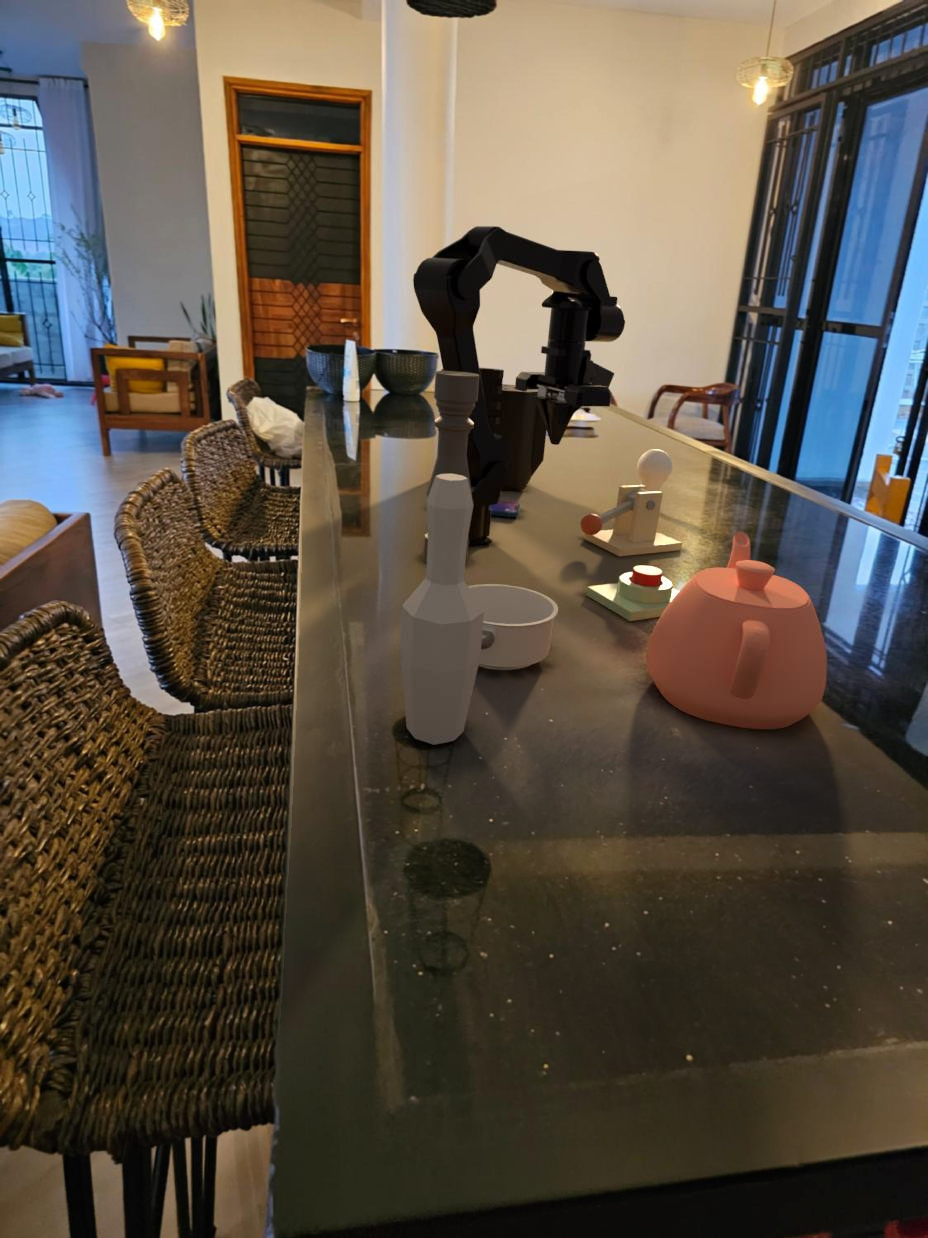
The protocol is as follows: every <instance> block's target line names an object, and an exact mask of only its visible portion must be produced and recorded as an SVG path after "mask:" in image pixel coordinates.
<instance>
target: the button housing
mask: <svg viewBox="0 0 928 1238" xmlns="http://www.w3.org/2000/svg"><path fill="white" fill-rule="evenodd" d="M632 572H633V571H629V572H624V573H622V574H620V575H619V576H618V582H615V583H606V584H597V585H591V586H590V585H589V586H587V588H586V593H585V594H586V596H587V597H588V598H590V599H592V600H594V601H595V602H597V603H598V604H600V605H602V606H603V607H605V608H607V609H609V610H610V611H612V612H614V613H615V614H617V615H619V616H621V617H622V618H623V619H625V620H627V621H628V622H635V621H641V620H647V619H654V618H660V617H661V615H662V613H663V612H664V610H665V609H666V607H667V606H668V605H669V603H670V602H671V601H672V600H673V598H674V597H675V596H676V595H677V594H678V592H679V591H680V590H678V589H676V588H674V584H673V582H672V581H671V580H670V579H668V578H666V577H665V576H662V578H661V583H660V586H657V587H648V586H641V585H637V584H635V583H633V582H631V578H632Z"/></svg>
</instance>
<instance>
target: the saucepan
mask: <svg viewBox="0 0 928 1238" xmlns="http://www.w3.org/2000/svg"><path fill="white" fill-rule="evenodd" d="M467 586H468V587H469V589H470V590H471V592H472V593H473V595H474V597H475V598H476V600H477V601H478V603H479V604H480V606H481V607H482V609H483V610H484V619H483V631H482V642H481V654H480V661H479V665H478V667H481V668H484V669H487V670H488V669H489V670H495V671H514V670H520V669H525V668H528V667H530V666H531V665H535V664H537V663H540V662H542V661H543V660H545V659H546V658H547V657H548V655H549V654H550V650H551V649H550V648H551V641H552V633H553V626H554V618H555V617H556V616H557V615H558V613H559V612H558V611H559V607H558V604H557V603H556V601H554V600H553V599H552V598H550V597H549V596H547V595H546V594H544V593H541V592H539V591H536V590H533V589H530V588H527V587H522V586H516V585H510V584H500V583H499V584H498V583H485V584H484V583H483V584H473V585H467Z"/></svg>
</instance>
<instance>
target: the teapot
mask: <svg viewBox="0 0 928 1238" xmlns="http://www.w3.org/2000/svg"><path fill="white" fill-rule="evenodd" d="M731 548H732V549H731V553H730V557H729V559H728V563H727V565H726V567H709V568H704V569H702V570H700V571H697V573H695V574H694V575H693V576H692V577H691V578H690V579H689V580H688V581H687V582H686V583H685V584H684V585H683V586H682V588H681V589H680V590H678V591H679V592H678V594H677V595H676V596H675V597H674V598H673V600H672V601H671V602H670V603H669V605H668V606H667V607H666V609H665V610H664V612H663V613H662V615H661V617H658V618H659V619H658V620H657V622H656V624H655V625H654V628H653V630H652V632H651V636H650V638H649V640H648V644H647V649H646V654H645V663H646V668H647V672H648V673H649V676H650V677H651V679H652V681H653V683H654V685H655V686H656V688H657V689H658V691H659V692H660V694H661V695H662V697H663V698H664V699H665V700H666V701H667V702H668V703H669V704H671V705H672V706H673V707H674V708H676V709H678V710H680V711H681V712H683V713H685V714H688V715H690V716H692V717H696V718H698V719H701V720H704V721H707V722H712V723H716V724H720V725H726V726H731V727H736V728H737V727H738V728H743V729H751V730H753V729H754V730H776V729H784V728H788V727H789V726H791V725H795V723H797V722H799V721H801V720H803V719H804V718H805V717H807V716H808V715H810V714H811V713H812V712H813V711H814V710H816V709H817V707H818V706H819V704H820V703H821V701H822V700H823V697H824V694H825V690H826V687H827V675H828V674H827V673H828V656H827V655H828V654H827V647H826V643H825V639H824V635H823V631H822V627H821V624H820V621H819V618H818V615H817V612H816V609H815V607H814V603H813V601H812V599H811V598H810V597H811V596H810V595H809V594H808V593H807V591H805V590H806V589H804V588H802V587H801V586H800V585H799V584H797V583H796V582H794V581H791V580H790V579H788V578H784V577H782V576H779V575H776V574H774V573H775V571H776V569H775V568H774V567H773V566H771V565H770V564H768V563H766V562H762V561H758V560H751V540H750V537H749V535H748V534H746V532H742V531H737V532H735V533H734V536H733V539H732V547H731Z"/></svg>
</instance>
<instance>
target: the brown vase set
mask: <svg viewBox="0 0 928 1238" xmlns="http://www.w3.org/2000/svg"><path fill="white" fill-rule="evenodd" d="M479 369H480V376H481V382H482V388H483V394H484V401H485V407H486V413H487V419H488V425H489V428H490V430H491V432H492V433H493V434H496V435H500V436H504V437H505V440H506V443H507V455H508V458H509V460H510V463H507V466H508V473H507V477H506V479H505V482H504V485H503V488H502V491H511V492H512V491H514V492H516V491H517V492H519V491H524V490H525V489H526V487H527V486H528V484H529V482H530V481H531V479H532V477H533V476H534V474H535V473H536V472H537V470H538V469H539V467H540V466H541V464H542V463H543V462H544V457H545V449H546V448H545V447H546V438H547V430H546V427H545V424H544V421H543V418H542V416H541V413H540V411H539V408H538V406H537V403H536V401H535V400H533V396H537V395H538V389H527V391H520V390H517V389H515V384H507V383H506V384H505V383H503V382H504V381H503V380H504V372H505V370H504V369H501V368H491V367H489V368H488V367H480V366H479ZM440 371H443V368H441V370H440ZM439 416H440V413H439V415H438V417H439ZM437 433H438V434H437V443H438V442H439V431H438V432H437ZM436 451H437V452H436V456H437V455H438V448H437V450H436Z"/></svg>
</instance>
